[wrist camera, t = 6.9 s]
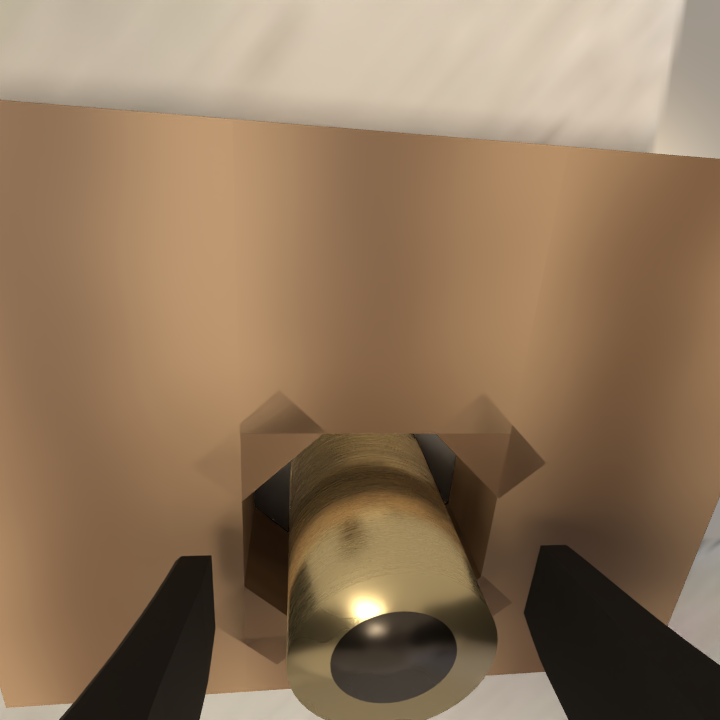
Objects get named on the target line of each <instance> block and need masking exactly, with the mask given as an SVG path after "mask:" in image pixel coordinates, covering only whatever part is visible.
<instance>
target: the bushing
mask: <svg viewBox="0 0 720 720" xmlns="http://www.w3.org/2000/svg"><path fill="white" fill-rule="evenodd" d="M497 644H498V636H497V629H496V625H495V621H494V619H493V617H492V614H491V612H490V610H489V607H488V605H487V603H486V600H485V598H484V596H483V593H482V591H481V589H480V586H479V584H478V582H477V579H476V577H475V575H474V572H473V570H472V568H471V565H470V563H469V561H468V558H467V556H466V554H465V551H464V549H463V547H462V544H461V542H460V540H459V537H458V535H457V533H456V530H455V528H454V526H453V523H452V521H451V519H450V516H449V514H448V512H447V509H446V507H445V505H444V502H443V500H442V498H441V495H440V493H439V491H438V488H437V486H436V484H435V481H434V479H433V477H432V474H431V472H430V469H429V467H428V465H427V462H426V460H425V458H424V455H423V453H422V451H421V448H420V446H419V444H418V442H417V440H416V439H415V437H414V436H413V435H412V434H322V435H321V436H320V437H319V438H317V439H316V440H315V441H314V442H313V443H311V444H310V445H309V446H308V447H307V448H305V449H304V450H303V451H302V452H301V453H299V454H298V455H297V456H296V457H295V458H293V459H292V463H291V470H290V509H289V558H288V607H287V656H286V670H287V678H288V681H289V684H290V687H291V689H292V691H293V693H294V695H295V696H296V697H297V699H298V700H299V701H300V702H301V703H302V704H303V705H304V706H305V707H306V708H307V709H308V710H309V711H311V712H312V713H314V714H315V715H317V716H319V717H321V718H323V719H325V720H426V719H429V718H431V717H433V716H436V715H438V714H440V713H442V712H444V711H446V710H448V709H449V708H451V707H453V706H454V705H456V704H457V703H459V702H460V701H461V700H463V699H464V698H465V697H466V696H468V695H469V694H470V693H471V692H472V691H473V690H474V689H475V688H476V687H477V686H478V685H479V684H480V682H481V681H482V680H483V679H484V677H485V676H486V674H487V673H488V671H489V670H490V667H491V665H492V663H493V661H494V658H495V655H496V651H497Z"/></svg>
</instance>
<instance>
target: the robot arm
mask: <svg viewBox="0 0 720 720" xmlns="http://www.w3.org/2000/svg"><path fill="white" fill-rule="evenodd" d="M524 616H525V619H526V622H527V625H528V628H529V631H530V634H531V637H532V640H533V642H534V645H535V648H536V650H537V653H538V656H539V659H540V661H541V663H542V666H543V668H544V670H545V672H546V674H547V676H548V678H549V680H550V682H551V685H552V687H553V689H554V691H555V693H556V695H557V697H558V699H559V701H560V703H561V705H562V707H563V709H564V711H565V713H566V715H567V717H568V720H720V665H718V664H717V663H716V662H714V661H713V660H712V659H710V658H709V657H708V656H706V655H705V654H704V653H702V652H701V651H699V650H698V649H697V648H695V647H694V646H693V645H691V644H690V643H689V642H687V641H686V640H685V639H683V638H682V637H681V636H679V635H678V634H677V633H676V632H674V631H673V630H672V629H670V628H669V627H668V626H666V625H665V624H664V623H663V622H661V621H660V620H659V619H658V618H656V617H655V616H654V615H652V614H651V613H650V612H649V611H647V610H646V609H645V608H644V607H642V606H641V605H640V604H639V603H638V602H636V601H635V600H634V599H633V598H631V597H630V596H629V595H628V594H626V593H625V592H624V591H623V590H622V589H620V588H619V587H618V586H617V585H616V584H614V583H613V582H612V581H611V580H609V579H608V578H607V577H606V576H605V575H603V574H602V573H601V572H600V571H599V570H597V569H596V568H595V567H594V566H592V565H591V564H590V563H589V562H588V561H586V560H585V559H584V558H583V557H581V556H580V555H579V554H578V553H576V552H575V551H574V550H572V549H571V548H570V547H569V546H567V545H541V546H540V550H539V554H538V558H537V562H536V566H535V570H534V574H533V578H532V582H531V586H530V590H529V594H528V597H527V601H526V605H525V609H524ZM215 628H216V627H215V609H214V590H213V572H212V555H202V556H181V557H180V558H178V559H177V560H176V561H175V563H174V564H173V566H172V568H171V570H170V571H169V573H168V574H167V576H166V578H165V579H164V581H163V582H162V584H161V586H160V587H159V589H158V590H157V592H156V593H155V595H154V596H153V598H152V599H151V601H150V602H149V604H148V605H147V607H146V608H145V610H144V611H143V613H142V614H141V615H140V617H139V618H138V620H137V621H136V622H135V624H134V625H133V627H132V628H131V629H130V631H129V632H128V633H127V635H126V636H125V638H124V639H123V640H122V642H121V643H120V645H119V646H118V647H117V649H116V650H115V651H114V653H113V654H112V655H111V657H110V658H109V659H108V660H107V662H106V663H105V664H104V665H103V667H102V668H101V669H100V671H99V672H98V673H97V674H96V676H95V677H94V678H93V679H92V681H91V682H90V683H89V684H88V686H87V687H86V688H85V689H84V691H83V692H82V693H81V694H80V696H79V697H78V698H77V699H76V701H75V702H74V703H73V704H72V705H71V707H70V708H69V709H68V710H67V711H66V712H65V714H64V715H63V716H62V717H61V718H60V719H59V720H199V719H200V715H201V711H202V706H203V702H204V698H205V694H206V689H207V685H208V680H209V673H210V666H211V659H212V651H213V644H214V636H215Z"/></svg>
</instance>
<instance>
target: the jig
mask: <svg viewBox="0 0 720 720" xmlns="http://www.w3.org/2000/svg"><path fill="white" fill-rule="evenodd" d="M322 434H437V435H438V436H439V437H440V439H441V440H442V441H443V442H444V443H445V444H446V445H447V446H448V447H449V448H450V449H451V450H452V451H453V452H454V453H455V454H456V461H455V467H454V473H453V479H452V485H451V491H450V498H449V503H448V504H447V505H445V507H446V509H447V512H448V514H449V516H450V519H451V521H452V523H453V526H454V528H455V530H456V533H457V535H458V537H459V540H460V542H461V544H462V547H463V549H464V551H465V554H466V556H467V558H468V561H469V563H470V565H471V568H472V570H473V572H474V575H475V577H476V579H477V582H478V584H479V586H480V589H481V591H482V593H483V596H484V598H485V600H486V603H487V605H488V607H489V610H490V612H491V614H492V617H493V619H494V621H495V625H496V629H497V636H498V644H497V651H496V655H495V658H494V661H493V663H492V665H491V667H490V670H489V671H488V673H487V674H486V675H501V674H516V673H531V672H545V670H544V668H543V666H542V663H541V661H540V659H539V656H538V653H537V650H536V648H535V645H534V642H533V640H532V637H531V634H530V631H529V628H528V625H527V622H526V619H525V616H524V609H525V605H526V601H527V597H528V594H529V590H530V586H531V582H532V578H533V574H534V570H535V566H536V562H537V558H538V554H539V550H540V546H541V545H567V546H569V547H570V548H571V549H572V550H574V551H575V552H576V553H578V554H579V555H580V556H581V557H583V558H584V559H585V560H586V561H588V562H589V563H590V564H591V565H592V566H594V567H595V568H596V569H597V570H599V571H600V572H601V573H602V574H603V575H605V576H606V577H607V578H608V579H609V580H611V581H612V582H613V583H614V584H616V585H617V586H618V587H619V588H620V589H622V590H623V591H624V592H625V593H626V594H628V595H629V596H630V597H631V598H633V599H634V600H635V601H636V602H638V603H639V604H640V605H641V606H642V607H644V608H645V609H646V610H647V611H649V612H650V613H651V614H652V615H654V616H655V617H656V618H658V619H659V620H660V621H661V622H663V623H664V624H665V625H666V626H668V623H669V621H670V618H671V616H672V613H673V611H674V608H675V606H676V603H677V601H678V598H679V596H680V593H681V591H682V589H683V586H684V584H685V581H686V579H687V576H688V574H689V571H690V569H691V566H692V564H693V561H694V559H695V556H696V554H697V551H698V549H699V547H700V544H701V542H702V539H703V537H704V534H705V531H706V529H707V527H708V524H709V522H710V519H711V517H712V514H713V512H714V509H715V507H716V505H717V502H718V499H719V497H720V159H714V158H702V157H701V158H700V157H690V156H677V155H665V154H653V153H641V152H629V151H616V150H604V149H592V148H580V147H567V146H555V145H543V144H531V143H518V142H506V141H494V140H482V139H470V138H457V137H445V136H433V135H421V134H408V133H396V132H384V131H372V130H359V129H347V128H335V127H323V126H311V125H298V124H286V123H274V122H262V121H249V120H237V119H225V118H213V117H200V116H188V115H176V114H164V113H152V112H139V111H127V110H115V109H103V108H90V107H78V106H66V105H54V104H41V103H29V102H17V101H5V100H0V688H1V692H2V695H3V698H4V702H5V705H6V708H9V707H24V706H38V705H53V704H68V703H74V702H75V701H76V699H77V698H78V697H79V696H80V694H81V693H82V692H83V691H84V689H85V688H86V687H87V686H88V684H89V683H90V682H91V681H92V679H93V678H94V677H95V676H96V674H97V673H98V672H99V671H100V669H101V668H102V667H103V665H104V664H105V663H106V662H107V660H108V659H109V658H110V657H111V655H112V654H113V653H114V651H115V650H116V649H117V647H118V646H119V645H120V643H121V642H122V640H123V639H124V638H125V636H126V635H127V633H128V632H129V631H130V629H131V628H132V627H133V625H134V624H135V622H136V621H137V620H138V618H139V617H140V615H141V614H142V613H143V611H144V610H145V608H146V607H147V605H148V604H149V602H150V601H151V599H152V598H153V596H154V595H155V593H156V592H157V590H158V589H159V587H160V586H161V584H162V582H163V581H164V579H165V578H166V576H167V574H168V573H169V571H170V570H171V568H172V566H173V564H174V563H175V561H176V560H177V559H178V558H180V557H181V556H202V555H212V572H213V590H214V609H215V627H216V628H215V636H214V644H213V651H212V659H211V666H210V673H209V680H208V685H207V689H206V694H218V693H233V692H248V691H262V690H277V689H291V687H290V684H289V681H288V678H287V670H286V656H287V607H288V558H289V533H288V532H286V531H285V530H284V529H283V528H281V527H280V526H279V525H277V524H276V523H275V522H274V521H272V520H271V519H270V518H268V517H267V516H266V515H265V514H263V513H262V512H261V511H259V510H258V509H257V508H256V507H254V491H255V490H257V489H258V488H259V487H260V486H261V485H262V484H264V483H265V482H266V481H267V480H268V479H270V478H271V477H272V476H273V475H274V474H276V473H277V472H278V471H279V470H280V469H282V468H283V467H284V466H285V465H286V464H288V463H289V462H290V461H291V460H292V459H293V458H295V457H296V456H297V455H298V454H299V453H301V452H302V451H303V450H304V449H305V448H307V447H308V446H309V445H310V444H311V443H313V442H314V441H315V440H316V439H317V438H319V437H320V436H321V435H322Z"/></svg>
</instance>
